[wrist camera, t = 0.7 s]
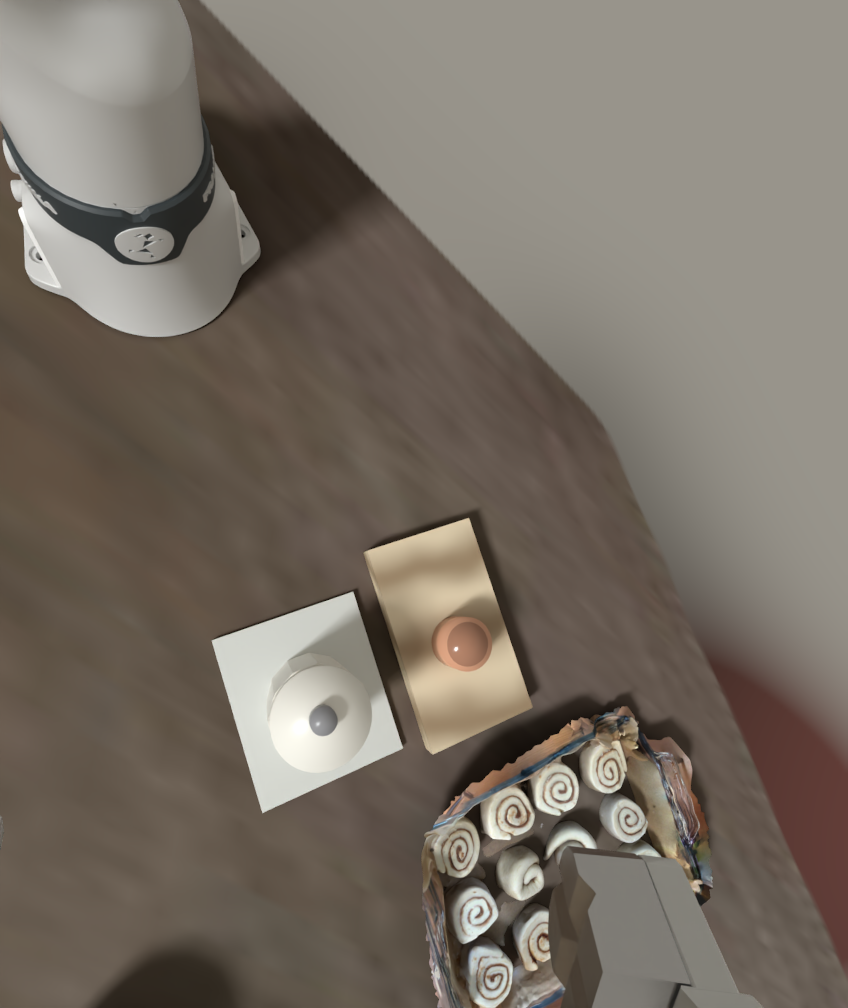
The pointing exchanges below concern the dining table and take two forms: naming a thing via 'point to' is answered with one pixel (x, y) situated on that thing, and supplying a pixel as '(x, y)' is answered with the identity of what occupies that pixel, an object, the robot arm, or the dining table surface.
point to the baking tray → (547, 853)
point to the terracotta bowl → (462, 643)
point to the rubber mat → (260, 657)
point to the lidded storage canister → (317, 713)
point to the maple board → (414, 616)
